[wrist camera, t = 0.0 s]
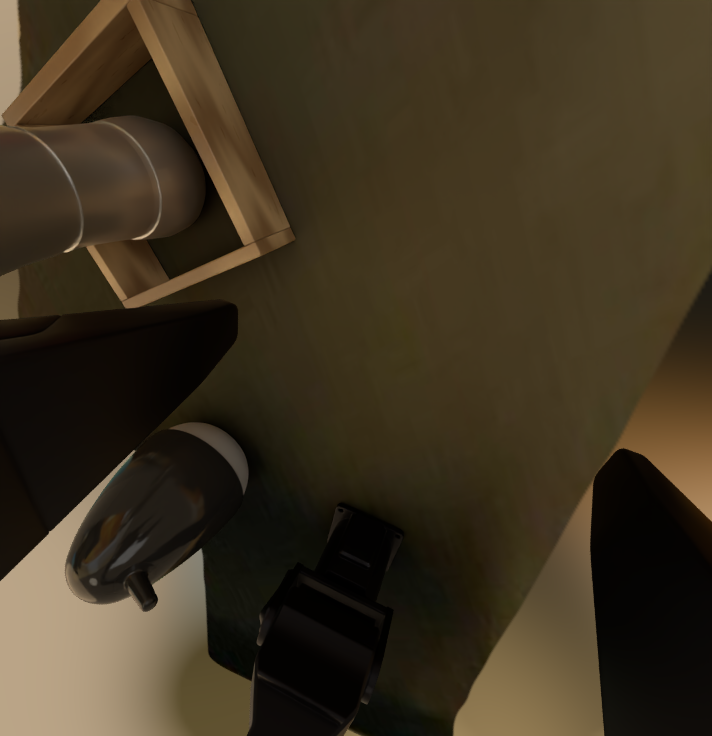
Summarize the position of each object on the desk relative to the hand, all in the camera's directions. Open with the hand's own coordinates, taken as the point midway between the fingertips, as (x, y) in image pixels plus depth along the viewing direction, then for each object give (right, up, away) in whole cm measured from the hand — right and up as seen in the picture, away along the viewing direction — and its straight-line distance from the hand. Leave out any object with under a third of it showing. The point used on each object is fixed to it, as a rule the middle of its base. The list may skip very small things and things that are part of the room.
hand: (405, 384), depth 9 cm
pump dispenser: (-14, -7, +29) cm, 33 cm away
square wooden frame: (-13, +13, +16) cm, 24 cm away
